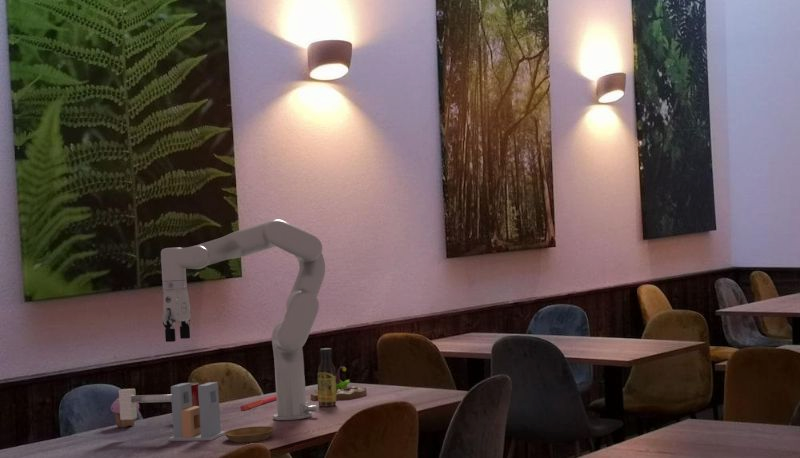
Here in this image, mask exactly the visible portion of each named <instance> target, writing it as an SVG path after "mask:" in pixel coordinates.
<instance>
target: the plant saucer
mask: <svg viewBox="0 0 800 458" xmlns="http://www.w3.org/2000/svg"><path fill="white" fill-rule="evenodd" d="M274 432H275V427H272V426H264V425H262V426H261V425H260V426H248V427H247V426H246V427H239V428H234V429H229V430H226V432H225V433H224V434H225V435H224V436H226V438H227V439H228V440H229V441H230V442H232V443H253V442H254V443H255V442H259V441H265V440H267V439H269V438H270V437H271V435H272V434H273V433H274Z"/></svg>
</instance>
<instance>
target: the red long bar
mask: <svg viewBox="0 0 800 458" xmlns="http://www.w3.org/2000/svg"><path fill="white" fill-rule="evenodd" d="M275 401H277V397H276V394H273V395H271V396H268V397H265V398H261V399H257V400H255V401H251V402H248V403H245V404H243V405H241V406H239V408H240V411H247V410H249V409H252V408H257V407H259V406H262V405H265V404H268V403H271V402H275Z"/></svg>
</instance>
